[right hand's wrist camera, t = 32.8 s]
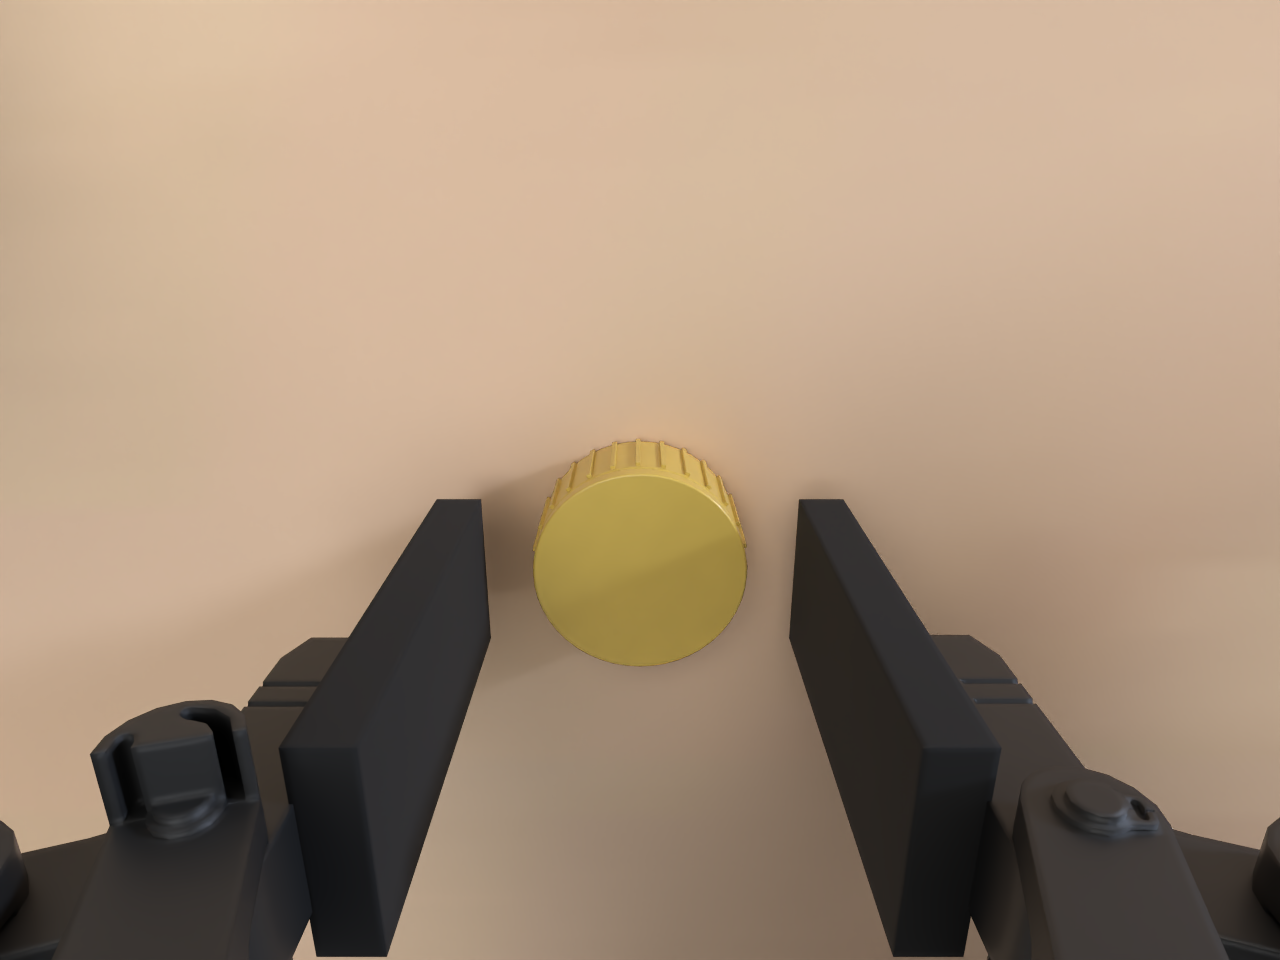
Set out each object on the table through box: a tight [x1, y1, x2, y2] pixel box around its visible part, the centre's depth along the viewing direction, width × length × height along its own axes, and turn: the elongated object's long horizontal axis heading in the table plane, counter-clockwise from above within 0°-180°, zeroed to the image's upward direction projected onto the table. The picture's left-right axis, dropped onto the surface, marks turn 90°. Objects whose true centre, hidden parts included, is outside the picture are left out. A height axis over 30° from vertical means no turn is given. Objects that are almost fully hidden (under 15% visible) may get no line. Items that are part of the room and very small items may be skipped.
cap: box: [533, 439, 747, 666], centre depth 15 cm, size 4×4×2 cm
